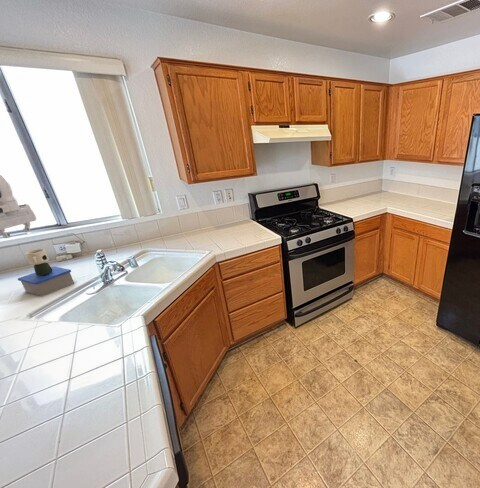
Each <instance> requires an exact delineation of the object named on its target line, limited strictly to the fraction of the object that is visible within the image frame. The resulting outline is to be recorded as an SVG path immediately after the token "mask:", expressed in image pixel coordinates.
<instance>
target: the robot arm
mask: <svg viewBox="0 0 480 488" xmlns="http://www.w3.org/2000/svg"><path fill="white" fill-rule="evenodd" d="M36 220H37V216H36V214H35V212H34V211H33V210H32V208H31V206H30V205H29V204H27V203H21V204H20V203H18V200H17V199H16V197H15V196H14V194H13V189H12V187H11V184H10V183H9V181H8V180H7V178H6V177H5V176H4V175H3V174H1V173H0V235H1V236H2V238H3V239H8V238H11V234H10V233H7V232H6V230H5V229H9V228H13V227H16V226H21V225H23V226H24V228H22V230H23V232H24V233H28V232H31V223H32V222H34V221H36Z"/></svg>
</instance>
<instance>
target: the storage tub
mask: <svg viewBox="0 0 480 488" xmlns="http://www.w3.org/2000/svg"><path fill="white" fill-rule="evenodd" d="M50 267H51V268H52V270H53V271H52V272H51V273H49V274H45V275H36V273H35V272H33V273H29V274H27V275H24V276H21V277H20V276H19V277H18V278H17V281H19V282H20V283H21V285H22V286H23V287H22V288H23V289H24V291H25V292H26V293H28V294H32V295H37V296H40V297H44V296H47V295H48V294H52V293H53V292H57V291H58V290H61V289H63V288H66V287H68V286H71V285H73V284H75V281H74V279H73V276H72V274H71V272H72V270H71V269H69V268H63V267H60V266H59V267H58V266H50Z"/></svg>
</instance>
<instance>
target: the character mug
mask: <svg viewBox="0 0 480 488" xmlns="http://www.w3.org/2000/svg"><path fill="white" fill-rule="evenodd" d="M24 255H25V256H26V257H25V258H26V259H27V261H28V264H29V265H31V266H33V270H34V273H36V275H45V274H49V273H51V272H52V271H53V270H52V268H51V267H52V266H51V265H50V264H49V263H48V262H49V261H50V258H49V256H48V254H47V251H46V249H45V248H37V249H33V250H32V249H31V250H28V251H26V252H25V253H24Z"/></svg>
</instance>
